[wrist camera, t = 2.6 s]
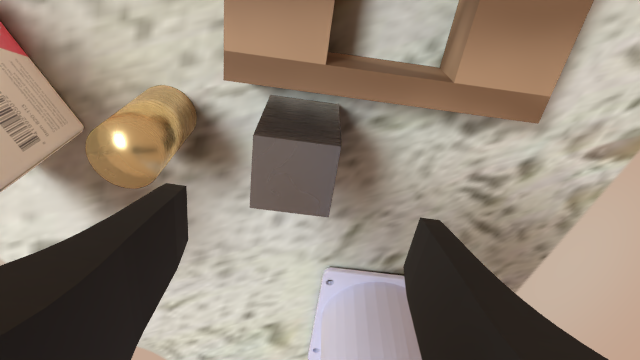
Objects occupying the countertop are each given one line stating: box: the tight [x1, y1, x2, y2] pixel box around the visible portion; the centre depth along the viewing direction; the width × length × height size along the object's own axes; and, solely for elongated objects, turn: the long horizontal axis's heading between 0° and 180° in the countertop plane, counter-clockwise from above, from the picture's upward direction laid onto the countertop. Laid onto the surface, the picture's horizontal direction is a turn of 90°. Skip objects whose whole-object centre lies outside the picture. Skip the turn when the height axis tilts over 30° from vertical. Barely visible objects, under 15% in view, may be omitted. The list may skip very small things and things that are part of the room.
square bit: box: [250, 95, 341, 217], centre depth 18 cm, size 4×4×5 cm
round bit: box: [86, 85, 197, 188], centre depth 18 cm, size 3×3×5 cm
